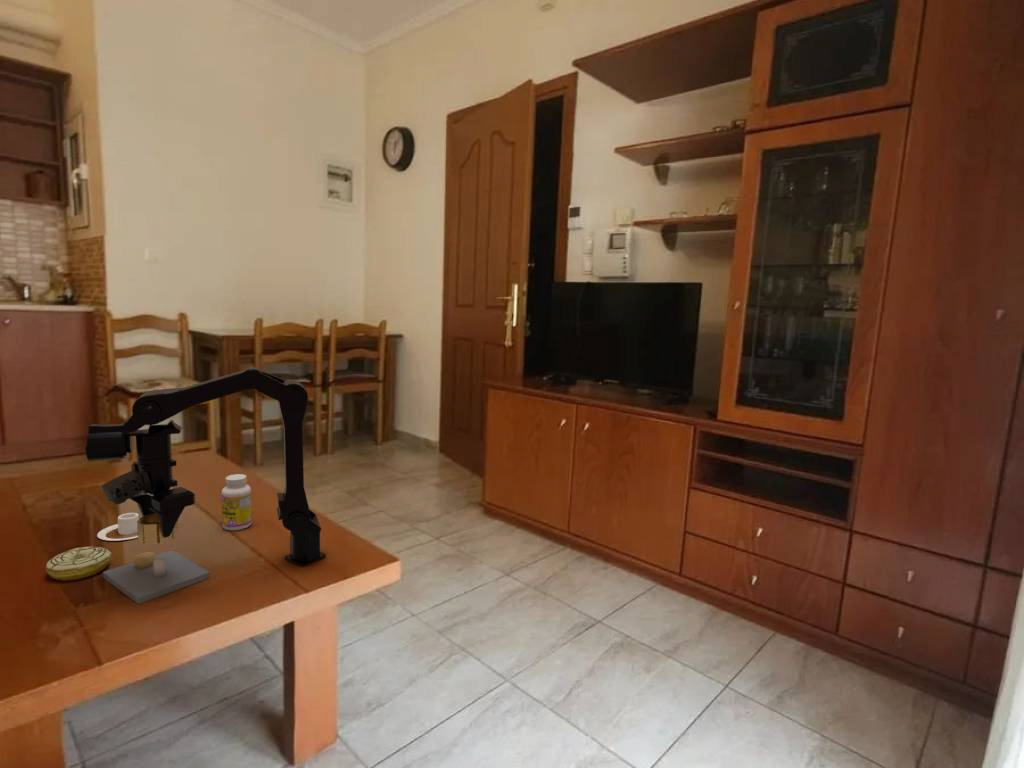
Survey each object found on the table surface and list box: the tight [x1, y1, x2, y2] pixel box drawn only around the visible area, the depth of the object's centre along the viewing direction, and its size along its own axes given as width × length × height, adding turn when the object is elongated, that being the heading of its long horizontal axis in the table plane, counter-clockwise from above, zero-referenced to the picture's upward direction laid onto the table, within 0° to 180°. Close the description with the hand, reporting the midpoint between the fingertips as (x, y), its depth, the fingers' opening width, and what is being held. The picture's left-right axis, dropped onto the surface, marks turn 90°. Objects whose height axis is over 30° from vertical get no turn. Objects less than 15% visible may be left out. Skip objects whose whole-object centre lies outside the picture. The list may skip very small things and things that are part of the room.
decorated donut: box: [45, 546, 112, 582], centre depth 114 cm, size 10×11×4 cm
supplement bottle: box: [221, 473, 253, 531], centre depth 138 cm, size 7×7×13 cm
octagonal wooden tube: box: [136, 513, 179, 545], centre depth 110 cm, size 6×6×4 cm
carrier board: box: [102, 550, 211, 605], centre depth 112 cm, size 16×13×4 cm
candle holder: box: [96, 512, 140, 542], centre depth 133 cm, size 12×12×4 cm
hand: (158, 532), depth 110 cm, fingers closed on octagonal wooden tube, 6 cm apart
